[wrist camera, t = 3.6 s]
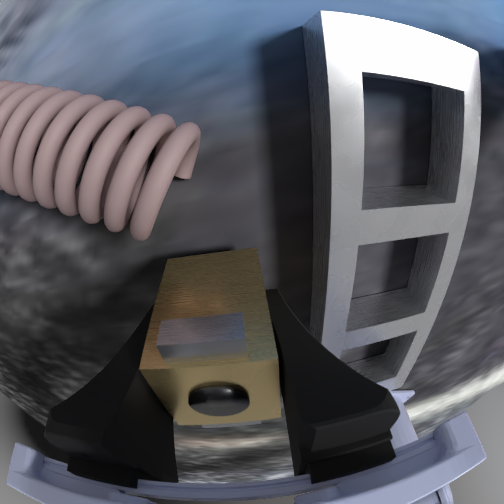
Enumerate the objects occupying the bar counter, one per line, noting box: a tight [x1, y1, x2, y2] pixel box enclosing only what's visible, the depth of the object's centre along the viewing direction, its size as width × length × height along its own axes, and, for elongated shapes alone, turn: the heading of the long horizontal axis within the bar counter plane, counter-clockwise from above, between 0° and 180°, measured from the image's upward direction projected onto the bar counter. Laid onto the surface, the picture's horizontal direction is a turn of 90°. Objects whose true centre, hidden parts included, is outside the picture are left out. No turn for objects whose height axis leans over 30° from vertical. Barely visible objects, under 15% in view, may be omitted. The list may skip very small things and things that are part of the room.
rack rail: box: [302, 11, 481, 391], centre depth 14 cm, size 24×8×2 cm, turn 6°
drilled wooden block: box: [139, 247, 281, 428], centre depth 11 cm, size 6×4×6 cm
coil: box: [0, 81, 201, 241], centre depth 7 cm, size 5×5×18 cm
